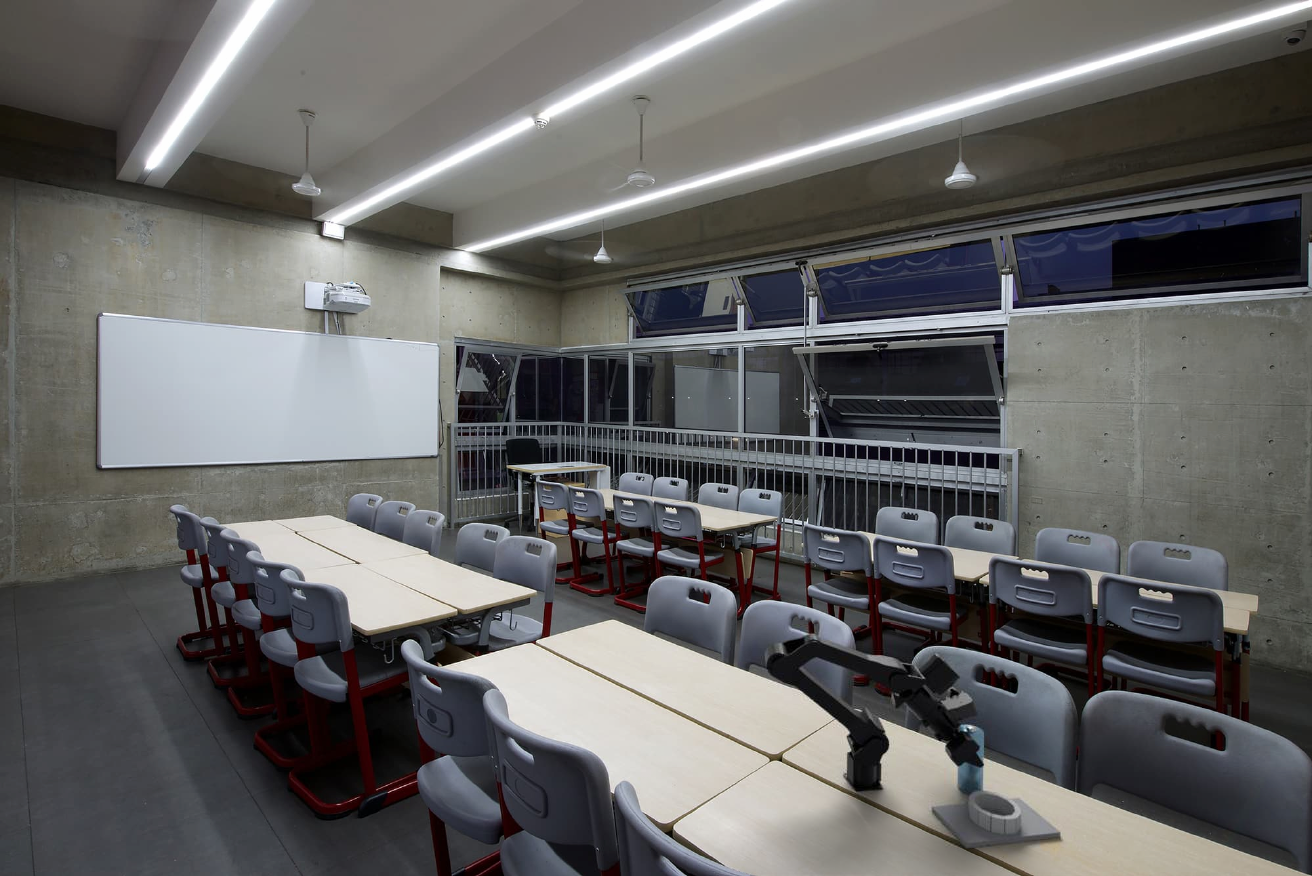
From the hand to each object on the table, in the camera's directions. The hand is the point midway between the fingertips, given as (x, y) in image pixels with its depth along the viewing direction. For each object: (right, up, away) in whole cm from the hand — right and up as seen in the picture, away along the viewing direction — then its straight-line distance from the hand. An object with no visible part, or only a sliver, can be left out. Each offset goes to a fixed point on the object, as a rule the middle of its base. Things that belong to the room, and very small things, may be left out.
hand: (977, 759), depth 135 cm
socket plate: (-3, -7, -11) cm, 14 cm away
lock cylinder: (-1, -7, 0) cm, 7 cm away
